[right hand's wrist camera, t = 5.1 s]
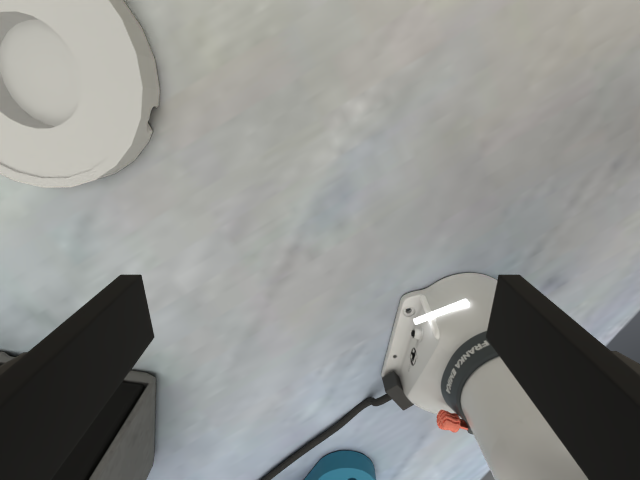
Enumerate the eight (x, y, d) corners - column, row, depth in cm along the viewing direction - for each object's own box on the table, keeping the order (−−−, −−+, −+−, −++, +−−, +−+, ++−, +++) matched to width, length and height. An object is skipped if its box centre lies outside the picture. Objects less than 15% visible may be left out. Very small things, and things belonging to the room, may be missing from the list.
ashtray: (38, 210, 43) (12, 219, 39) (-111, 11, 36) (-161, 0, 32) (198, 133, 40) (186, 136, 36) (72, -103, 32) (39, -131, 28)
